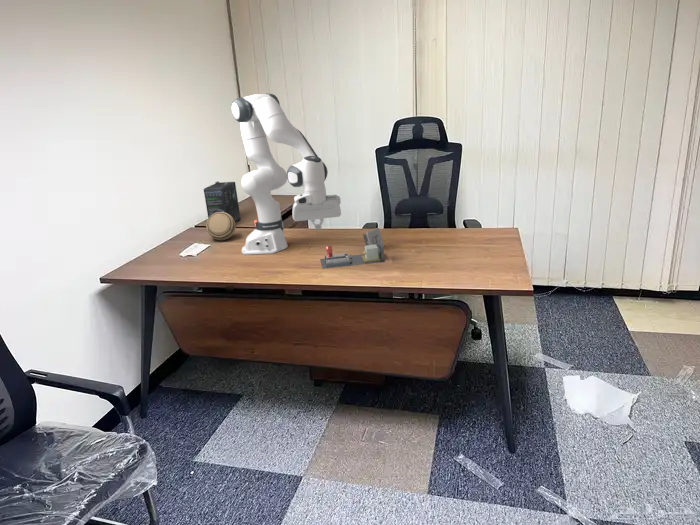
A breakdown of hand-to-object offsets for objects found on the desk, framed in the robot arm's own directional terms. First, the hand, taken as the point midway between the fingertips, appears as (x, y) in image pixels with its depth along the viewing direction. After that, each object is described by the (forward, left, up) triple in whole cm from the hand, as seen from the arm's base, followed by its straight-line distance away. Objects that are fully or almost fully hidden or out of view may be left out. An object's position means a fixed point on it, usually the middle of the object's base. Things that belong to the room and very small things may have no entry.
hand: (317, 228), depth 203 cm
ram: (+8, -1, -15) cm, 17 cm away
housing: (+22, 0, -15) cm, 27 cm away
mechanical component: (-48, +58, -17) cm, 78 cm away
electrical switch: (+26, +15, -17) cm, 35 cm away
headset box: (-50, +91, -17) cm, 106 cm away
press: (+14, -1, -16) cm, 21 cm away
